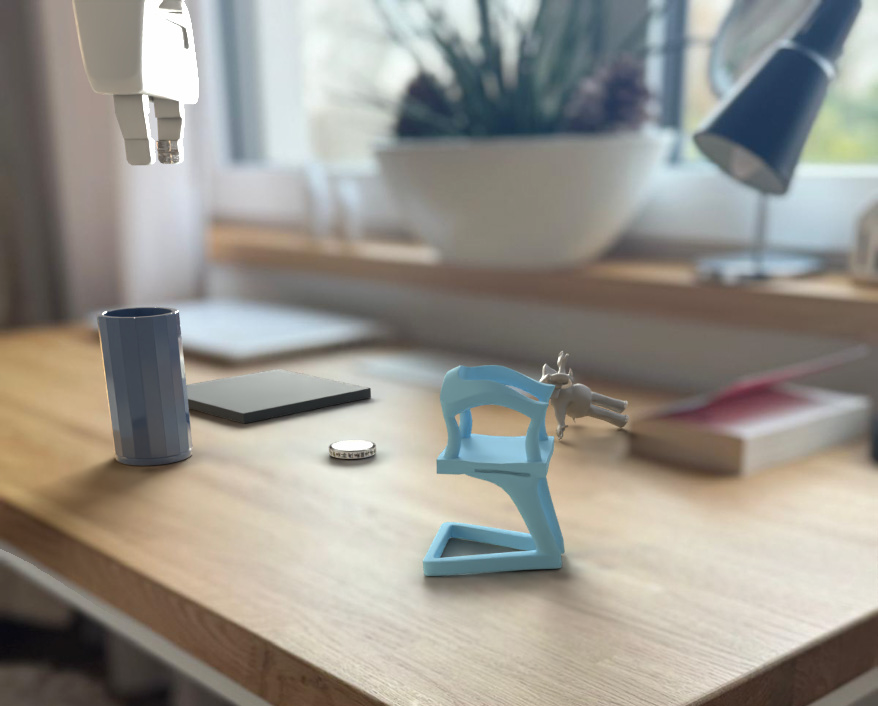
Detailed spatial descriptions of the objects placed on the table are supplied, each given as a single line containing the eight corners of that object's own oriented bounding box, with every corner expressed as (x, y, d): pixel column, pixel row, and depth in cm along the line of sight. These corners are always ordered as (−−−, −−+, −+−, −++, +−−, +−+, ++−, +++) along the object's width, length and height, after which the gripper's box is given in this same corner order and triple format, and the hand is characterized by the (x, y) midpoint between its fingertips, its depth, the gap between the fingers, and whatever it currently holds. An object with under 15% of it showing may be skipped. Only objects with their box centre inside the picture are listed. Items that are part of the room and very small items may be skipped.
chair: (559, 583, 64) (565, 381, 59) (421, 576, 65) (417, 378, 61) (567, 540, 71) (573, 356, 66) (442, 534, 72) (440, 354, 68)
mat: (155, 399, 113) (154, 390, 113) (279, 377, 124) (278, 368, 123) (244, 423, 103) (243, 413, 102) (371, 397, 113) (370, 387, 112)
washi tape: (375, 445, 94) (375, 438, 94) (376, 457, 90) (376, 450, 90) (329, 447, 94) (329, 440, 93) (328, 459, 90) (328, 451, 90)
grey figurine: (643, 442, 95) (551, 412, 92) (607, 477, 100) (520, 449, 97) (640, 355, 100) (553, 324, 97) (606, 392, 104) (523, 363, 102)
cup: (101, 456, 92) (82, 312, 88) (167, 442, 96) (152, 304, 92) (140, 470, 88) (122, 320, 83) (207, 455, 92) (193, 311, 88)
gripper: (131, -18, 88) (150, 163, 94) (47, -64, 69) (76, 166, 75) (208, -19, 88) (222, 162, 94) (145, -65, 69) (167, 165, 75)
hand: (157, 164), depth 84 cm, fingers open, 8 cm apart
